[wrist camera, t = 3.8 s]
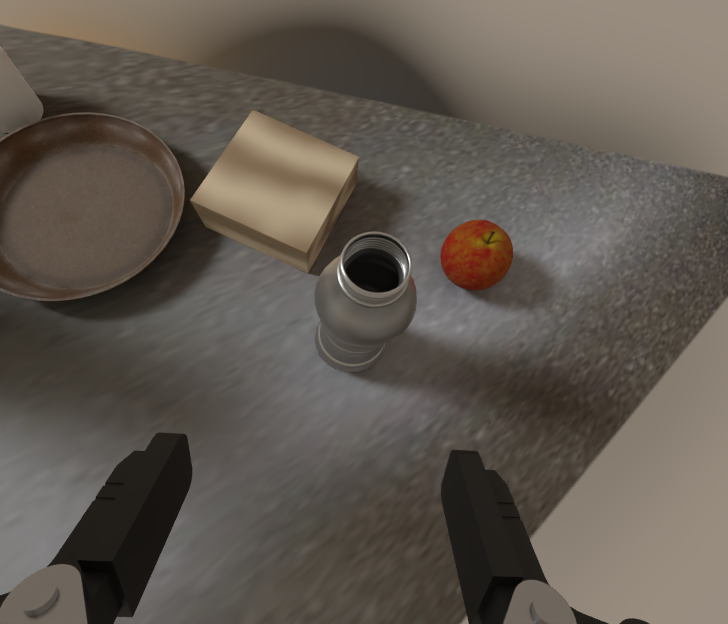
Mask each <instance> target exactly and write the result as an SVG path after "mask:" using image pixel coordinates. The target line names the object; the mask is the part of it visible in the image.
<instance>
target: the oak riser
mask: <svg viewBox="0 0 728 624" xmlns="http://www.w3.org/2000/svg"><path fill="white" fill-rule="evenodd" d="M358 161H359V157H358V156H356V155H353V154H351V153H349V152H347V151H344V150H342V149H340V148H338V147H335V146H333V145H331V144H329V143H326V142H324V141H322V140H320V139H317V138H315V137H313V136H311V135H308V134H306V133H304V132H302V131H299V130H297V129H295V128H293V127H290V126H288V125H286V124H284V123H281V122H279V121H277V120H275V119H272V118H270V117H268V116H266V115H263V114H261V113H259V112H257V111H254V110H252V112H251V113H250V115H249V116H248V118H247V119H246V121H245V122H244V123H243V125H242V126H241V128H240V129H239V131H238V132H237V133H236V135H235V136H234V138H233V139H232V141H231V142H230V143H229V145H228V146H227V148H226V149H225V151H224V152H223V154H222V155H221V156H220V158H219V159H218V161H217V162H216V164H215V165H214V166H213V168H212V169H211V171H210V172H209V174H208V175H207V177H206V178H205V179H204V181H203V182H202V184H201V185H200V187H199V188H198V189H197V191H196V192H195V194H194V195H193V197H192V198H191V199H190V201H191V203H192V205H193V206H194V208H195V210H196V211H197V213H198V215H199V217H200V218H201V220H202V222H203V223H204V225H205V227H207V228H209V229H211V230H213V231H216V232H218V233H220V234H222V235H224V236H227V237H229V238H231V239H233V240H235V241H238V242H240V243H242V244H244V245H246V246H249V247H251V248H253V249H255V250H257V251H260V252H262V253H264V254H266V255H268V256H271V257H273V258H275V259H277V260H279V261H282V262H284V263H286V264H288V265H290V266H293V267H295V268H297V269H299V270H301V271H304V272H306V273H309V272H310V270H311V268H312V266H313V264H314V262H315V260H316V258H317V257H318V255H319V253H320V251H321V249H322V247H323V245H324V243H325V242H326V240H327V238H328V236H329V234H330V232H331V230H332V228H333V227H334V225H335V223H336V221H337V219H338V217H339V215H340V214H341V212H342V210H343V208H344V206H345V204H346V202H347V200H348V199H349V197H350V195H351V193H352V191H353V189H354V187H355V183H356V175H357V168H358Z"/></svg>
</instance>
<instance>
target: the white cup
mask: <svg viewBox="0 0 728 624" xmlns="http://www.w3.org/2000/svg"><path fill="white" fill-rule="evenodd" d="M43 111H44V110H43V105H42V102H41V101H40V100H39V98H38V97H37V96H36V94H35V93H34V91H33V90H32V89H31V87H30V86H29V85H28V83H27V82H26V80H25V79H24V78H23V76H22V75H21V74H20V72H19V71H18V69H17V68H16V67H15V65H14V64H13V63H12V61H11V60H10V58H9V57H8V56H7V54H6V53H5V51H4V50H3V49H2V47H1V46H0V132H2V133H11V132H13V131H15V130H17V129H19V128H21V127H23V126H25V125H28V124H30V123H32V122H35V121H38V120H41V118H42V115H43Z"/></svg>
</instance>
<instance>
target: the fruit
mask: <svg viewBox="0 0 728 624" xmlns="http://www.w3.org/2000/svg"><path fill="white" fill-rule="evenodd" d="M512 258H513V247H512V243H511V240H510V238H509V236H508V235H507V233H506V232H505V231H504V230H503V229H502V228H500V227H499V226H498V225H496V224H494V223H492V222H490V221H486V220H472V221H468V222H466V223H463V224H461V225H459V226H458V227H456V228H455V229H454V230H453V231H452V232H451V233H450V234H449V235H448V237H447V238H446V239H445V241H444V243H443V246H442V250H441V264H442V268H443V270H444V272H445V274H446V276H447V277H448V278H449V280H450V281H451V282H452V283H454V284H455V285H457V286H459V287H461V288H464V289H468V290H482V289H486V288H489V287H491V286H493V285H495V284H496V283H497V282H499V281H500V280H501V279H502V278H503V277H504V276H505V274H506V273H507V271H508V270H509V268H510V265H511V262H512Z"/></svg>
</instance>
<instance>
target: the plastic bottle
mask: <svg viewBox="0 0 728 624" xmlns="http://www.w3.org/2000/svg"><path fill="white" fill-rule="evenodd" d="M411 272H412V259H411V256H410V253H409V251H408V250H407V248H406V247H405V245H404V244H403V243H402V242H401V241H400V240H398V239H397V238H395V237H394V236H392V235H390V234H387V233H383V232H377V231H371V232H364V233H362V234H359V235H357V236H355V237H353V238H352V239H351V240H350V241H349V242H348V243H347V244H346V245H345V247H344V249H343V251H342V253H341V255H340V256H338V257H337V258H335V259H334V260H333V261H332V262H331V263H330V264H329V265H328V266H326V267H325V269H324V270H323V272H322V273H321V274H320V276H319V278H318V281H317V283H316V288H315V305H316V309H317V313H318V316H319V318H320V322H319V324H318V326H317V328H316V333H315V344H316V348H317V350H318V353H319V355H320V356H321V357H322V359H323V360H324V361H325V362H326V363H327V364H328V365H330V366H331V367H333V368H335V369H337V370H340V371H344V372H359V371H363V370H365V369H367V368H370V367H371V366H372V365H374V364H375V363H376V362H377V361H378V360H379V359H380V357H381V356H382V354H383V352H384V349H385V346H386V343H387V342H389V341H391V340H393V339H394V338H395V337H397V336H398V335H400V334H401V333H402V332H403V331H404V330H405V329H406V328H407V327H408V326H409V324H410V322H411V321H412V319H413V317H414V314H415V311H416V304H417V296H416V287H415V284H414V280H413V278H412V276H411Z"/></svg>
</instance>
